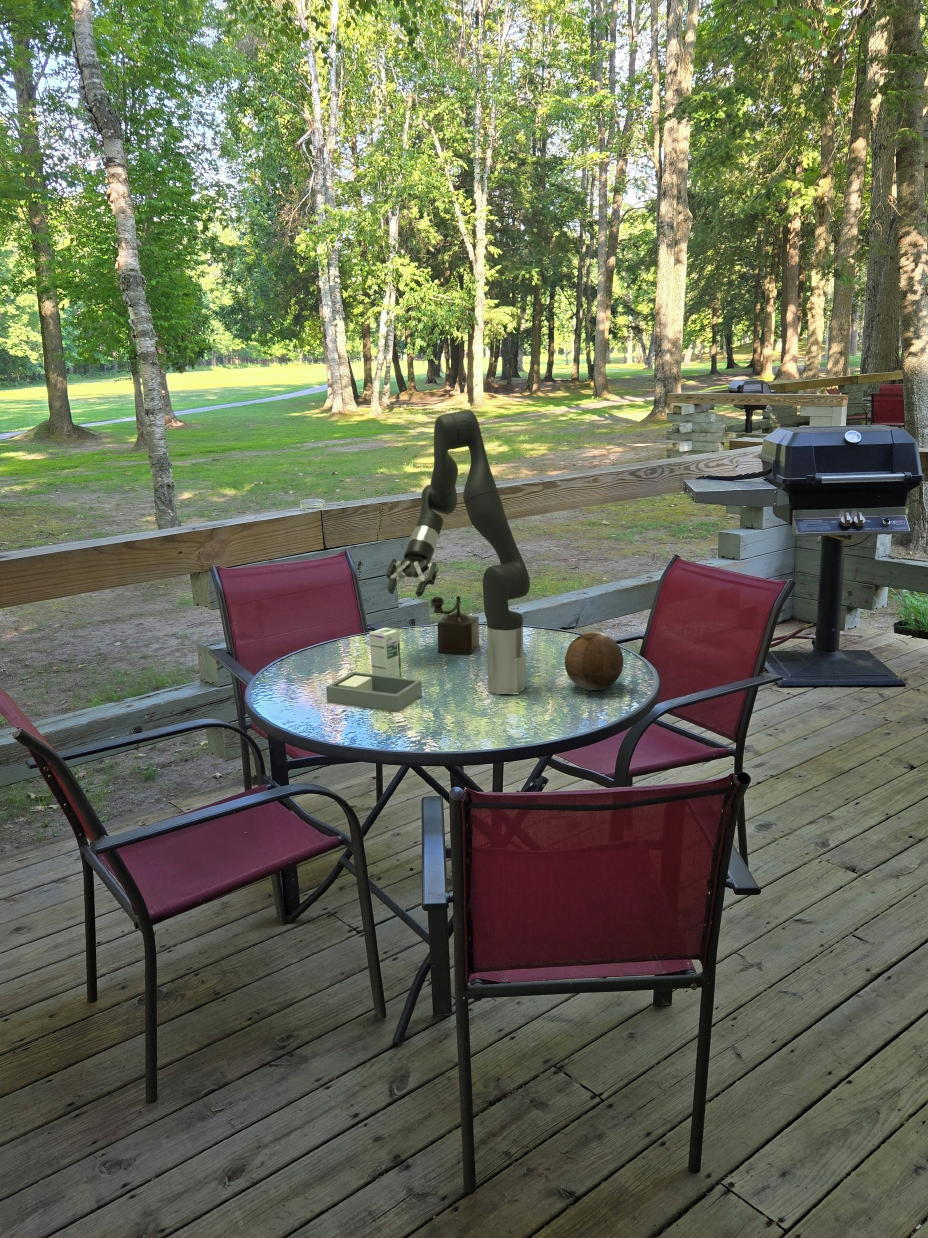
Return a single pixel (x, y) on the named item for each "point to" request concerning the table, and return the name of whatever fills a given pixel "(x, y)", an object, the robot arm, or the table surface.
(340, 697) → the tray
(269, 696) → the table surface
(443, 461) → the robot arm
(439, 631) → the manual coffee grinder
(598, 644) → the wooden sphere
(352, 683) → the cream rectangular block
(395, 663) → the syrup box
